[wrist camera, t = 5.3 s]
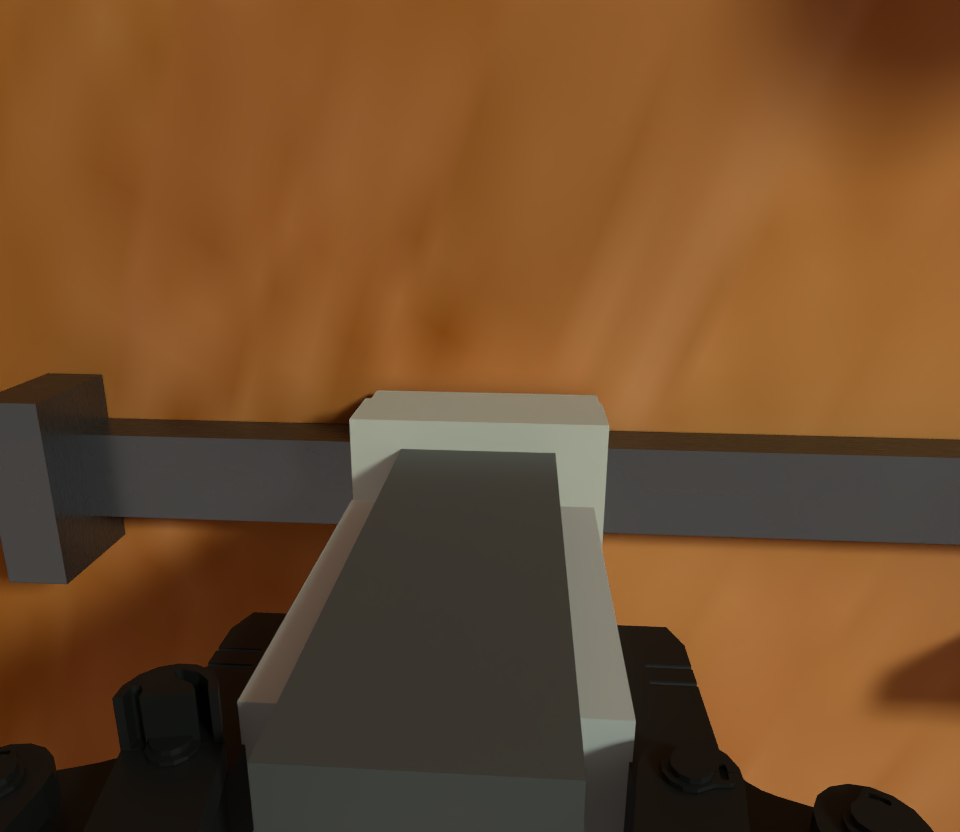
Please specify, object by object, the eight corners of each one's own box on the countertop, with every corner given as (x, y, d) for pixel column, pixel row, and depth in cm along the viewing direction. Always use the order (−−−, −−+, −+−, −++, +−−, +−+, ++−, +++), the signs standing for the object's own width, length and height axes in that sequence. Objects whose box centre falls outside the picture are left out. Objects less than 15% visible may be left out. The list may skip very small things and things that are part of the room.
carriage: (392, 825, 25) (252, 1482, 12) (376, 383, 21) (129, 702, 8) (572, 836, 25) (618, 1523, 12) (597, 388, 20) (710, 730, 8)
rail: (74, 532, 23) (9, 581, 20) (47, 373, 21) (-27, 402, 19) (1222, 572, 21) (1332, 633, 18) (1279, 399, 19) (1408, 437, 17)
